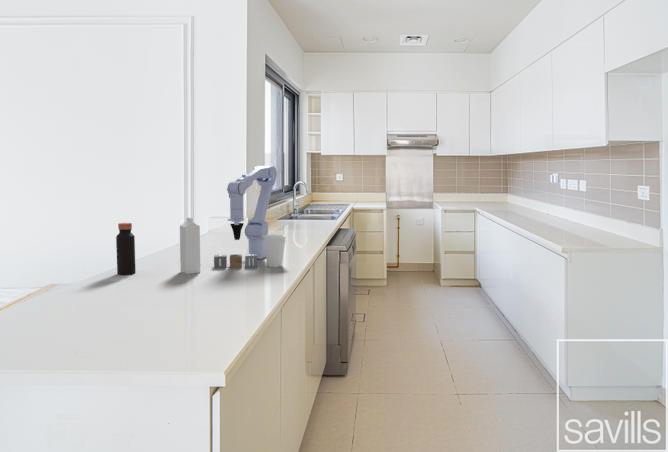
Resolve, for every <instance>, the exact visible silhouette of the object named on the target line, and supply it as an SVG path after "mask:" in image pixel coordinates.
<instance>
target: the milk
mask: <svg viewBox="0 0 668 452" xmlns="http://www.w3.org/2000/svg"><path fill="white" fill-rule="evenodd" d="M200 232H201V231H200V225H198V224H196V223H195V222H194V221H193V218H191V217H186V221H184V222H183V223H181V224H180V225H179V249H180V250H179V251H180V253H179V254H180V255H179V256H180V257H179V260H180V261H179V262H180V273H182V274H184V275H191V274H198V273H199V274H200V273H201V233H200Z"/></svg>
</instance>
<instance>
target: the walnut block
mask: <svg viewBox="0 0 668 452" xmlns="http://www.w3.org/2000/svg"><path fill="white" fill-rule="evenodd" d="M229 268H230V269H239V268H241V269H242V268H243V254H241V253H240V254H234V253H233V254H229Z"/></svg>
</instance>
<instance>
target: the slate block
mask: <svg viewBox="0 0 668 452" xmlns="http://www.w3.org/2000/svg"><path fill="white" fill-rule="evenodd" d="M244 257H245V260H244V264H245V267H244V268H249V269H251V268H258V259H257V254H249V253H248V254H247V253H246V254H245V256H244Z"/></svg>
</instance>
